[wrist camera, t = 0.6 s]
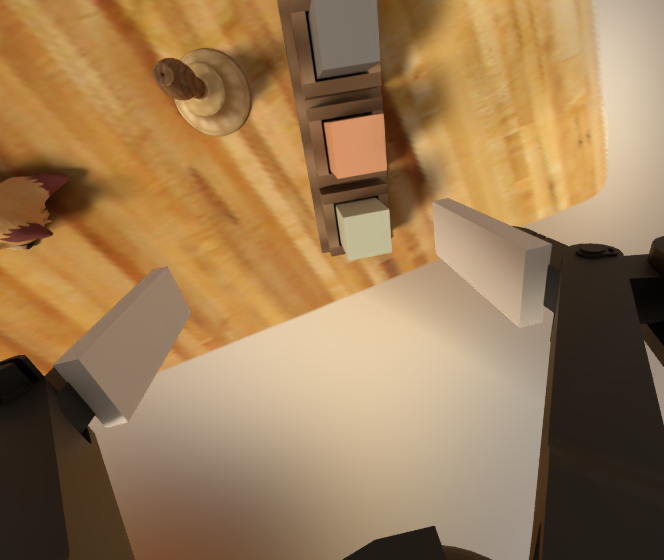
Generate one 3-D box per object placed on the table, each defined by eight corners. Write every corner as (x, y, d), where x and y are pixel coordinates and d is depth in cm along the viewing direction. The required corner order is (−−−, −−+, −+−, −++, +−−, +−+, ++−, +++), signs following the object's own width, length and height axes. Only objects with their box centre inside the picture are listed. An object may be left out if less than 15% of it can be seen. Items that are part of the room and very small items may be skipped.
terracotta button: (323, 122, 33) (330, 122, 28) (368, 115, 33) (383, 113, 28) (330, 170, 35) (337, 178, 30) (372, 163, 35) (387, 170, 30)
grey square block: (308, 16, 29) (312, -8, 23) (360, 8, 29) (375, -17, 24) (317, 79, 31) (323, 70, 26) (364, 71, 31) (380, 61, 26)
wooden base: (277, 1, 31) (275, -18, 27) (373, -14, 31) (385, -34, 27) (322, 251, 44) (325, 264, 40) (388, 239, 45) (398, 250, 40)
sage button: (335, 204, 37) (343, 217, 32) (375, 197, 37) (389, 209, 32) (340, 242, 40) (348, 260, 34) (378, 235, 40) (391, 252, 34)
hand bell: (209, 29, 31) (144, -48, 17) (265, 102, 35) (250, 89, 21) (155, 86, 33) (56, 60, 19) (215, 151, 36) (169, 169, 22)
